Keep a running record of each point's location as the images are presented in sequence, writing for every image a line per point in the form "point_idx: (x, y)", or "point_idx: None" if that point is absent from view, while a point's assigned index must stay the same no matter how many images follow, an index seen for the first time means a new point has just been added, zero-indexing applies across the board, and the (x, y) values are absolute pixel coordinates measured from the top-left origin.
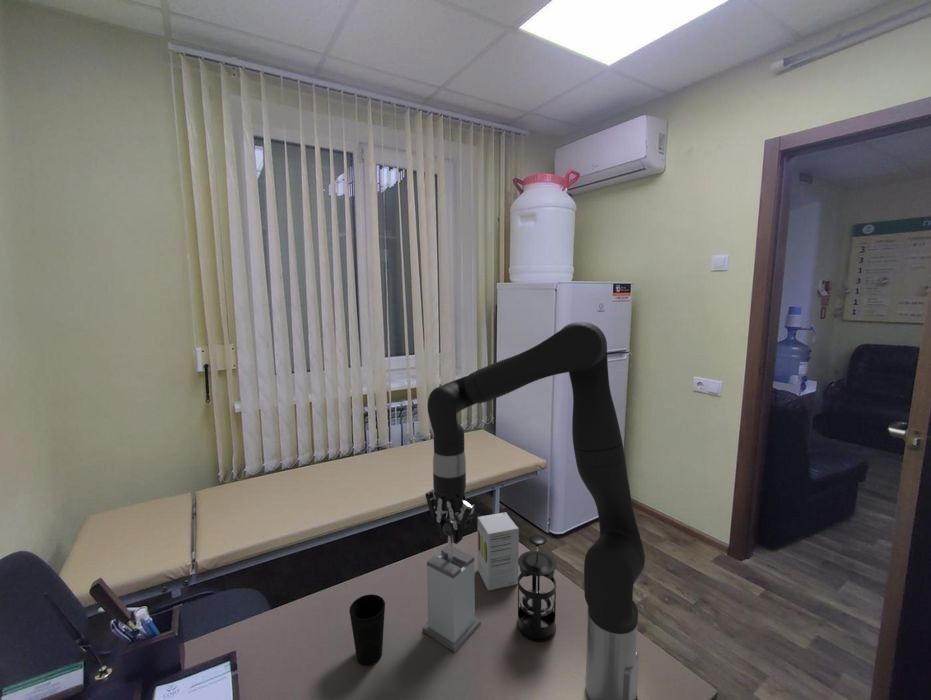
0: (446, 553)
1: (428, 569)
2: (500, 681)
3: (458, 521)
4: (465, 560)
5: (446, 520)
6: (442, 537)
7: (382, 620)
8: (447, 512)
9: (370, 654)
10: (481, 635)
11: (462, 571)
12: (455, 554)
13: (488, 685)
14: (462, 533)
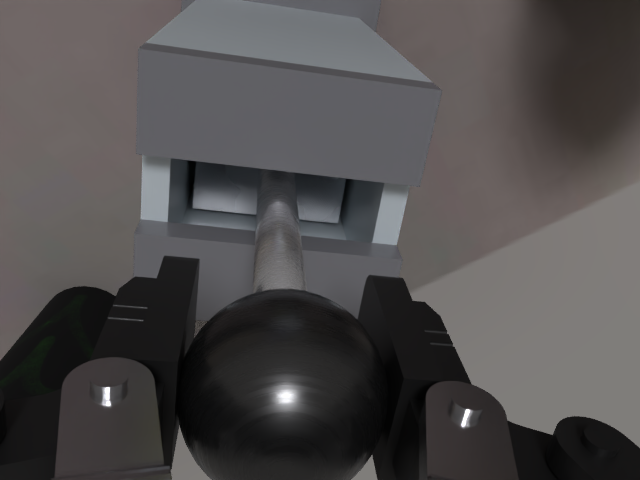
0: (199, 159)
1: None
2: (535, 195)
3: (421, 439)
4: (394, 170)
5: (223, 468)
6: (194, 331)
7: None
8: (160, 456)
9: None
10: (405, 53)
11: (398, 226)
12: (280, 143)
13: (502, 225)
14: (456, 354)
